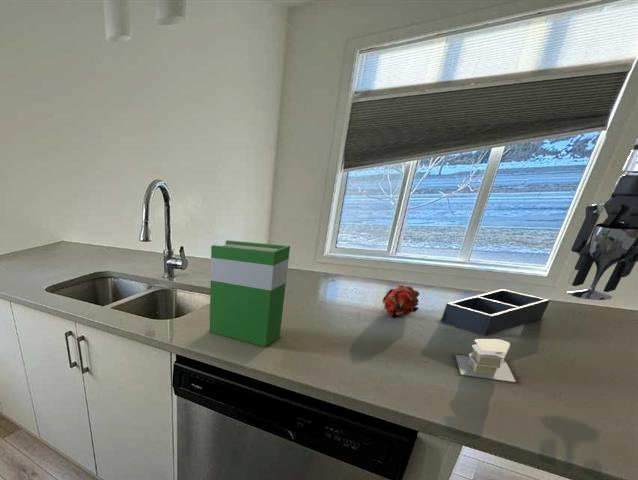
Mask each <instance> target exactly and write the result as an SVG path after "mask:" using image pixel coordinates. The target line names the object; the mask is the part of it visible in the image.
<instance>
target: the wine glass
mask: <svg viewBox="0 0 638 480" xmlns="http://www.w3.org/2000/svg"><path fill="white" fill-rule="evenodd" d="M602 223H603V222H601V223H596V225H595V227H594V229H593V231H592V233H591V236H590V238H589V240H588V242H589V247H588V252H589V254H590V256H591V257H592V259H593V261H594V262H593V263H594V264H595V267H596V271H595V274H594V277H593V281H592V283H591V285H590V287H589V288H588V289H571V290H568V291H567V292H566V293H567V295H569V296H570V297H571V296H572V297H574V298H577V299H584V300H590V301H591V300H592V301H607V300H611V299H612V298H613V296H612V295H611V294H609V293H608V292H604V291H598V290H596V287H597V285H598V283H599V281H600V279H601V278H602V277H603V276H604V274H605V273H606V271H607V270H609V269H610V268H611V267H612V266H614V265H617V263H618V262H619V261H622V260H624V258H625V256H626V255H627V254H628V253H629V252H630V251H631V250H632V249H633V248H634V246H635V247H638V229H629V228H628V226H629V223H624V222H619V223H618V224H617V225H616V226H615V227H614V228H613V229H610V228H603V227H601V226H602Z"/></svg>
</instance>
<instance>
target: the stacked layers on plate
mask: <svg viewBox="0 0 638 480" xmlns="http://www.w3.org/2000/svg"><path fill="white" fill-rule="evenodd" d="M474 342H475V344H472V345H471V348H472V351H471V352H470V353H469V354H468V356H467V355H460V354H455V359H456V363H457V366H458V369H459V373H460V375H461V376H468V377H475V378H481V379H490V380H497V381H506V382H511V383H516V379H515V377H514V375H513V373H512V371H511V369H510V366H509V365H508V363H507V361H506V360H505V357H506V356H507V354H508V351H509V349H510V346H511V343H510V342H509V341H506V340H503V339H499V338H475V339H474Z"/></svg>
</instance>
